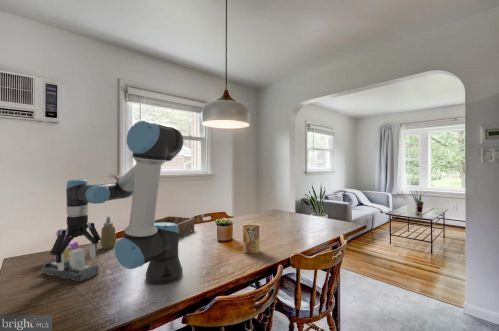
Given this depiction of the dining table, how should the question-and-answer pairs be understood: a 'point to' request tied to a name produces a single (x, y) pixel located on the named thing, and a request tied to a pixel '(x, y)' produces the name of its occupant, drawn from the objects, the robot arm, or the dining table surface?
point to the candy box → (250, 238)
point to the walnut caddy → (179, 224)
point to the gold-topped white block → (77, 260)
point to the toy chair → (73, 244)
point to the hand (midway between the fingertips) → (77, 263)
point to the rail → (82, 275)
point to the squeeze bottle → (108, 235)
